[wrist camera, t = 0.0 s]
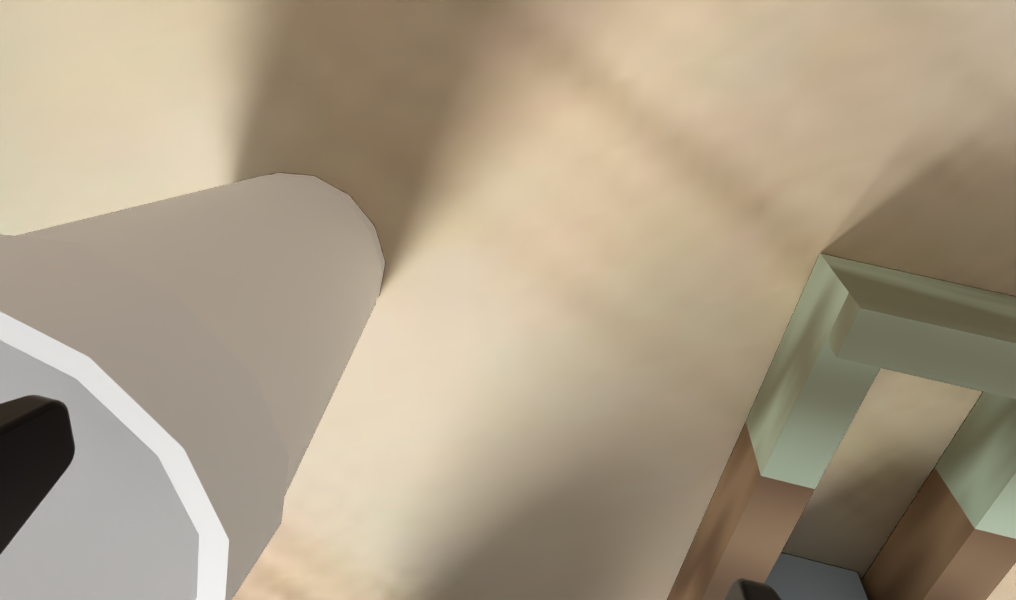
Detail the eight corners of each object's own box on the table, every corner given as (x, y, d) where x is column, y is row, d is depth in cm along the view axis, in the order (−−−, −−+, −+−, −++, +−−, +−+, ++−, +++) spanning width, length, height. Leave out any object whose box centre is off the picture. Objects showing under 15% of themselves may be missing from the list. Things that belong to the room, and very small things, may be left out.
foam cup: (270, 385, 27) (4, 681, 15) (140, 187, 24) (-320, 373, 12) (466, 321, 24) (319, 629, 12) (348, 85, 21) (0, 203, 9)
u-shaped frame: (843, 679, 29) (874, 776, 25) (654, 629, 29) (658, 716, 26) (1099, 315, 20) (1202, 385, 16) (820, 253, 20) (860, 308, 17)
